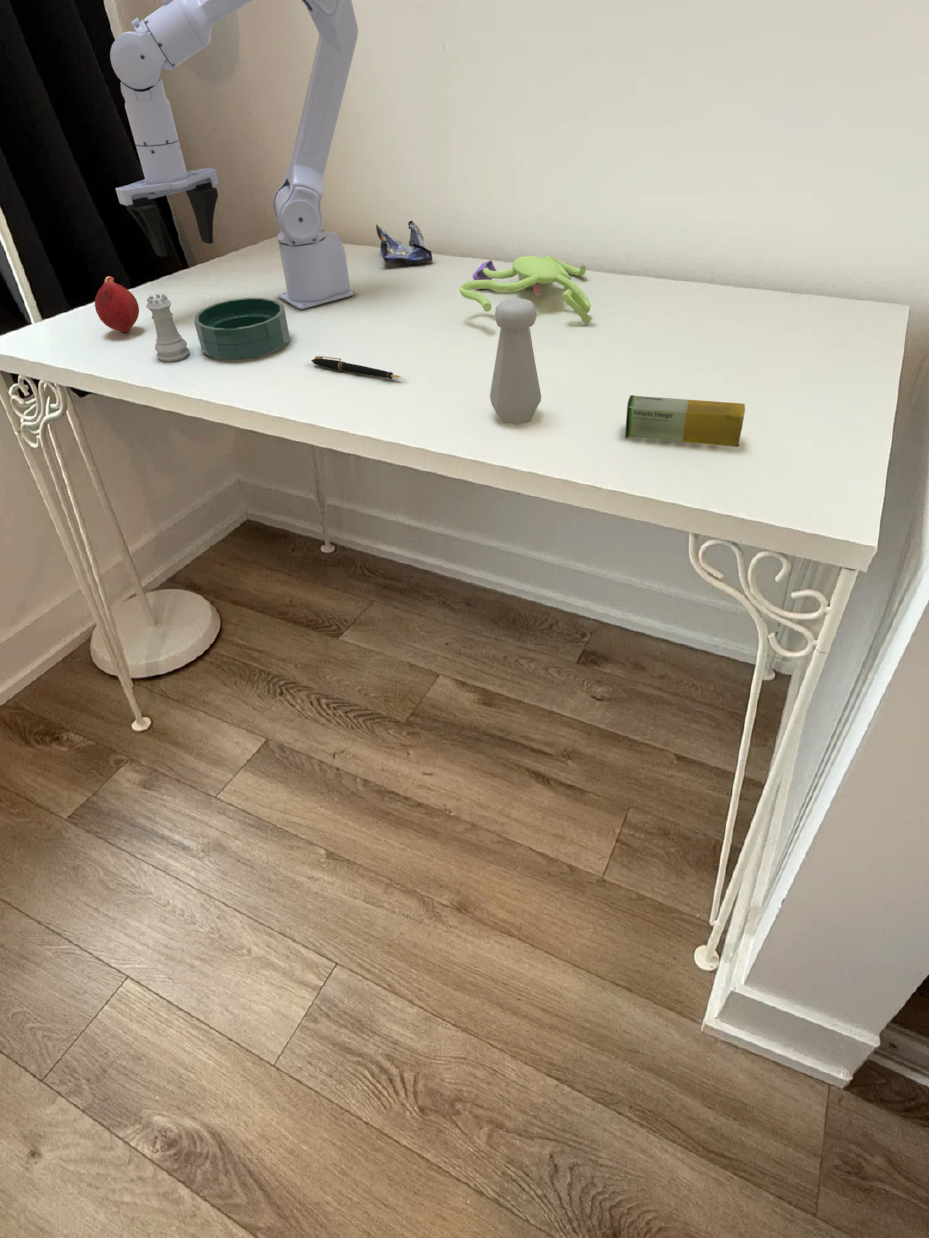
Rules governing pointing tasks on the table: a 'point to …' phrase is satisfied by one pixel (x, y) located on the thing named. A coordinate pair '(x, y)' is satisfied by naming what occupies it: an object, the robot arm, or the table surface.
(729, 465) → the table surface
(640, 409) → the medication box
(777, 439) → the table surface
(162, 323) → the rook chess piece
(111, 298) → the onion
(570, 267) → the figurine
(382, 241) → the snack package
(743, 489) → the table surface
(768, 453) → the table surface
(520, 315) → the salt shaker
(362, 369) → the fountain pen
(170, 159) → the robot arm
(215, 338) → the green faceted bowl
